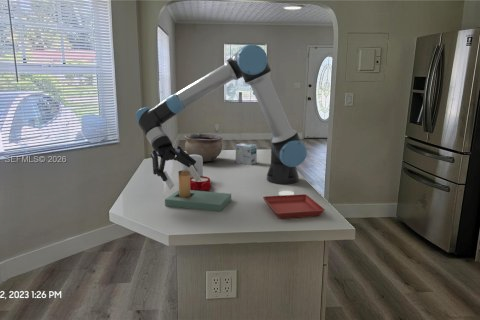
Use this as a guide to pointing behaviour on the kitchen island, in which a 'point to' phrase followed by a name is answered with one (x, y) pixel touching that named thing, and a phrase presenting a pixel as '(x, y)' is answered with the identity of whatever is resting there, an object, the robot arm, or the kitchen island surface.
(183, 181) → the plug
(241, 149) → the light bulb box
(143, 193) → the kitchen island surface
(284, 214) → the plant saucer
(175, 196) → the socket board
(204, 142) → the ceramic bowl
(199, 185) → the alarm clock
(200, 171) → the photo printer
